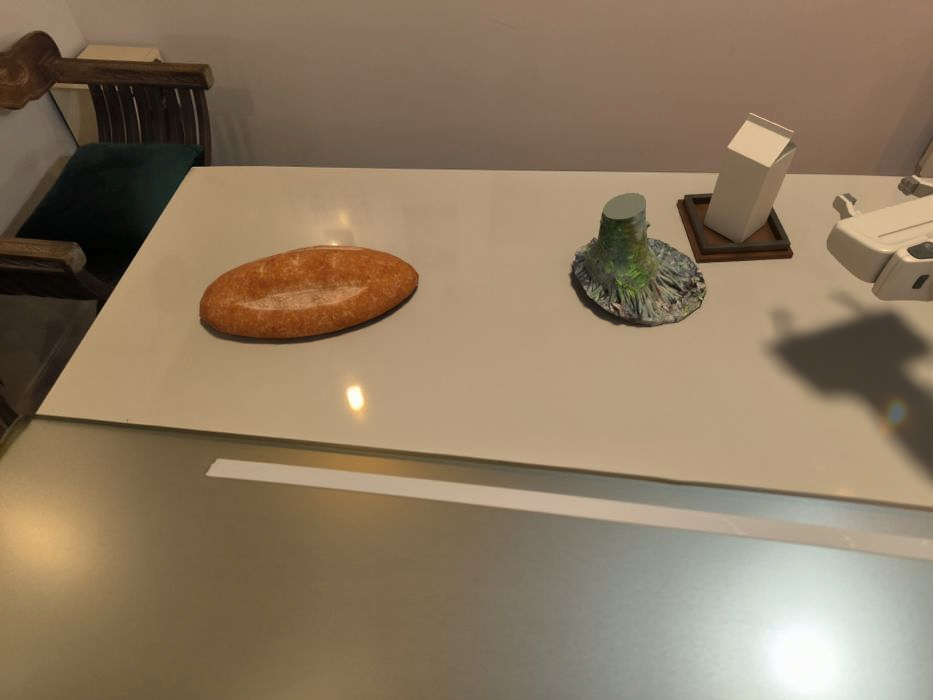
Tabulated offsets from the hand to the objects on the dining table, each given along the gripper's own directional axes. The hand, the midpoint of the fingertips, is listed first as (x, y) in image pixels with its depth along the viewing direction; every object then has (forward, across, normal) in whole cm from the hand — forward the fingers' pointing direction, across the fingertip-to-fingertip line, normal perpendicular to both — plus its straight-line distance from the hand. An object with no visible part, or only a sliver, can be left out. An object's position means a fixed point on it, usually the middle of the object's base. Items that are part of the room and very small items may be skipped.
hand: (872, 189), depth 76 cm
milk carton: (+18, +3, +19) cm, 26 cm away
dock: (+18, +3, +20) cm, 27 cm away
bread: (+26, +73, +20) cm, 80 cm away
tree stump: (+12, +23, +20) cm, 33 cm away
